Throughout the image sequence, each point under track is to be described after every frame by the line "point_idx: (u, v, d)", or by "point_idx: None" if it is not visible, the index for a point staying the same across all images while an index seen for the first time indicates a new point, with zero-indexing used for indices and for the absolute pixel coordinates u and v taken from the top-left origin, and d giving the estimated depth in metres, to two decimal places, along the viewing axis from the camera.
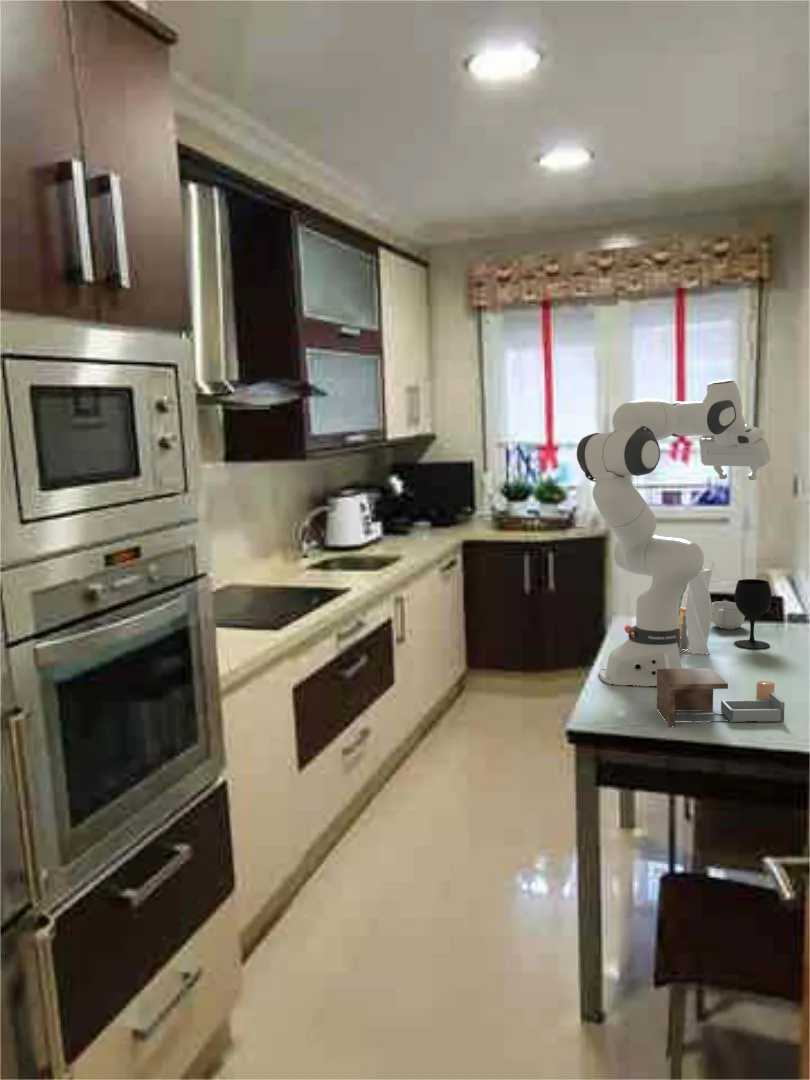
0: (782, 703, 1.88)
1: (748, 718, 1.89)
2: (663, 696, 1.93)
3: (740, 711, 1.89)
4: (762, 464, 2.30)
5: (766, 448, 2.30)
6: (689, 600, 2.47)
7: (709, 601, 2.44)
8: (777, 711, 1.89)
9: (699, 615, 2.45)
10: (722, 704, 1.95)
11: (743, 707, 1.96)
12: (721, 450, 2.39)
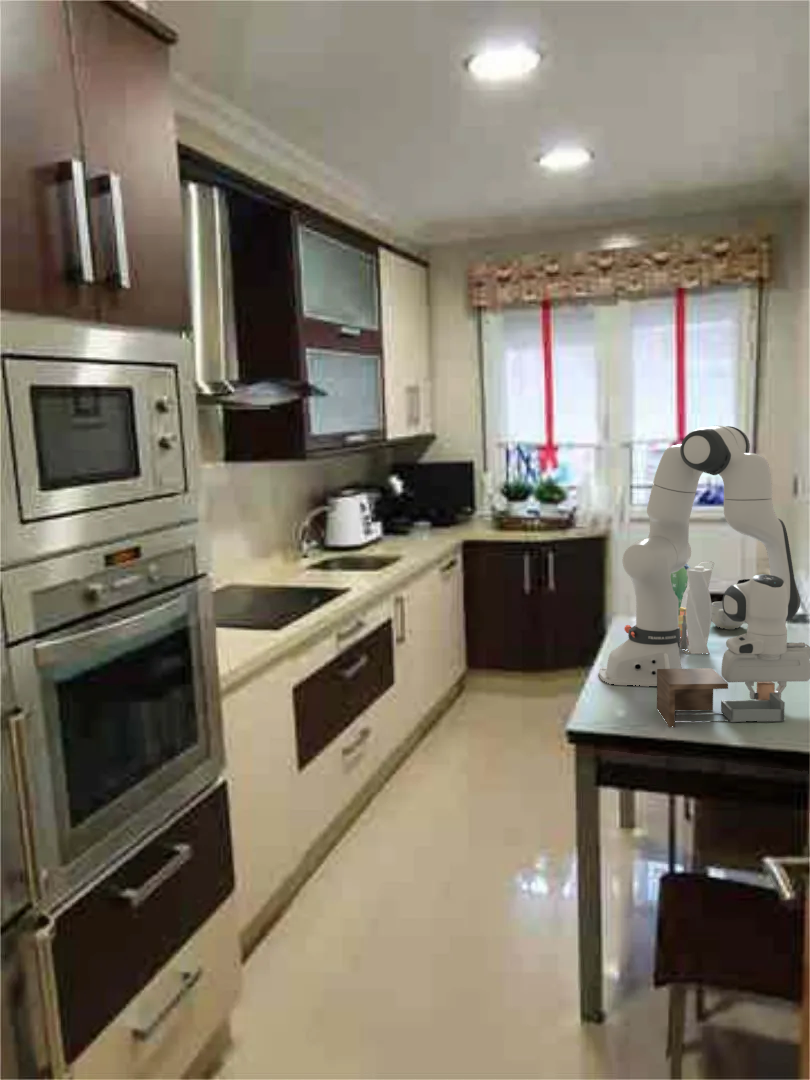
0: (782, 703, 1.88)
1: (748, 718, 1.89)
2: (663, 696, 1.93)
3: (740, 711, 1.89)
4: None
5: (726, 663, 1.98)
6: (689, 600, 2.47)
7: (709, 601, 2.44)
8: (777, 711, 1.89)
9: (699, 615, 2.45)
10: (722, 704, 1.95)
11: (743, 707, 1.96)
12: None
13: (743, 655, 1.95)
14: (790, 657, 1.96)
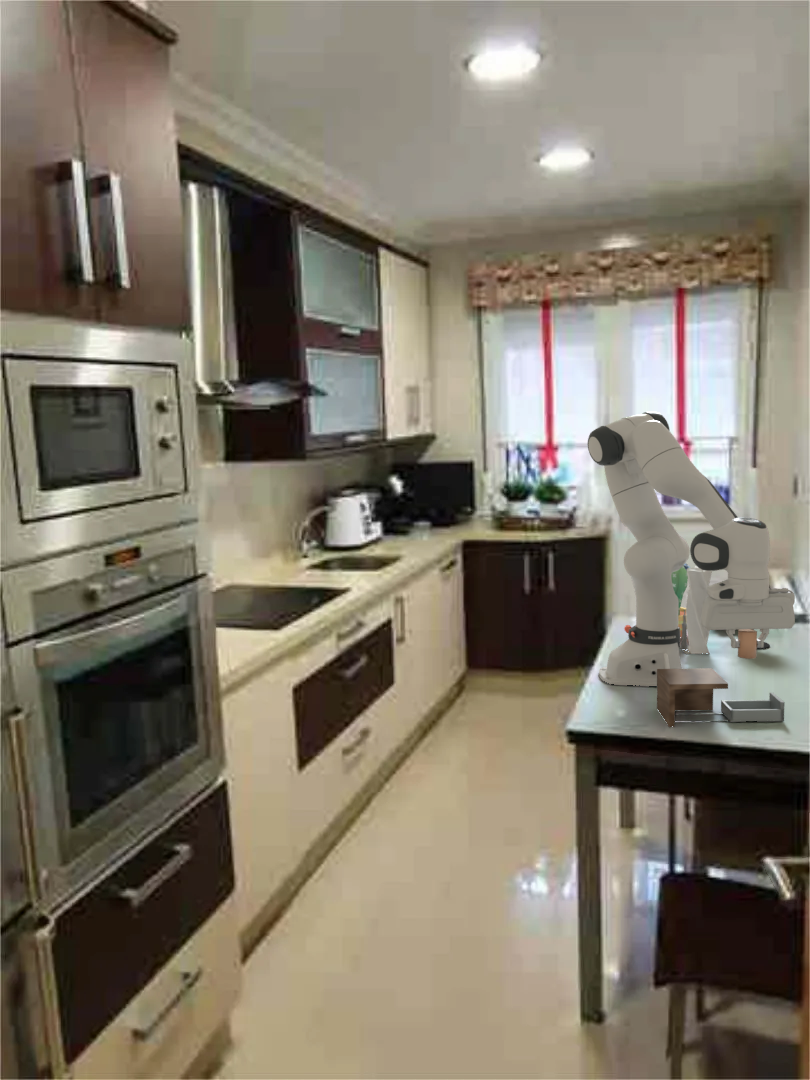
0: (782, 703, 1.88)
1: (748, 718, 1.89)
2: (663, 696, 1.93)
3: (740, 711, 1.89)
4: None
5: (706, 610, 1.89)
6: (689, 600, 2.47)
7: None
8: (777, 711, 1.89)
9: (699, 615, 2.45)
10: (722, 704, 1.95)
11: (743, 707, 1.96)
12: None
13: (723, 601, 1.87)
14: (772, 603, 1.87)
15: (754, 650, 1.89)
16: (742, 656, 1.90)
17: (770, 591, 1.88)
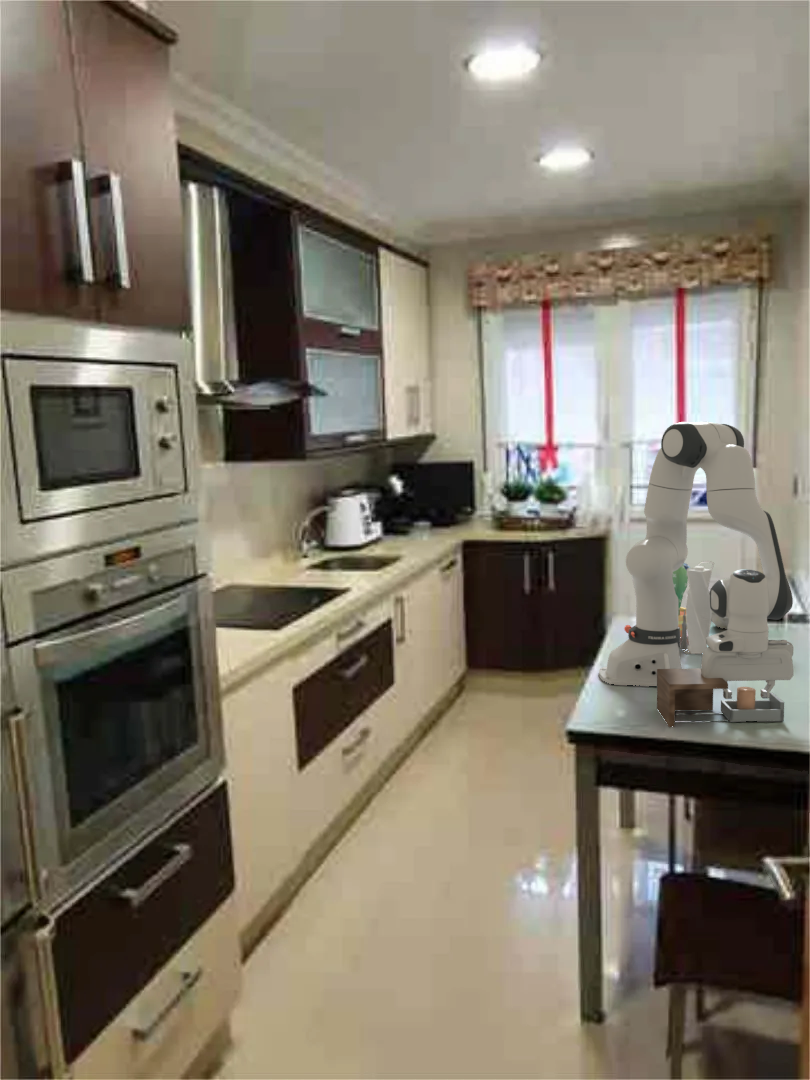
0: (782, 703, 1.88)
1: (748, 718, 1.89)
2: (663, 696, 1.93)
3: (740, 711, 1.89)
4: None
5: (705, 662, 1.91)
6: (689, 600, 2.47)
7: (709, 601, 2.44)
8: (777, 711, 1.89)
9: (699, 615, 2.45)
10: (722, 704, 1.95)
11: None
12: None
13: (723, 653, 1.89)
14: (771, 655, 1.89)
15: (752, 708, 1.91)
16: None
17: (769, 643, 1.90)
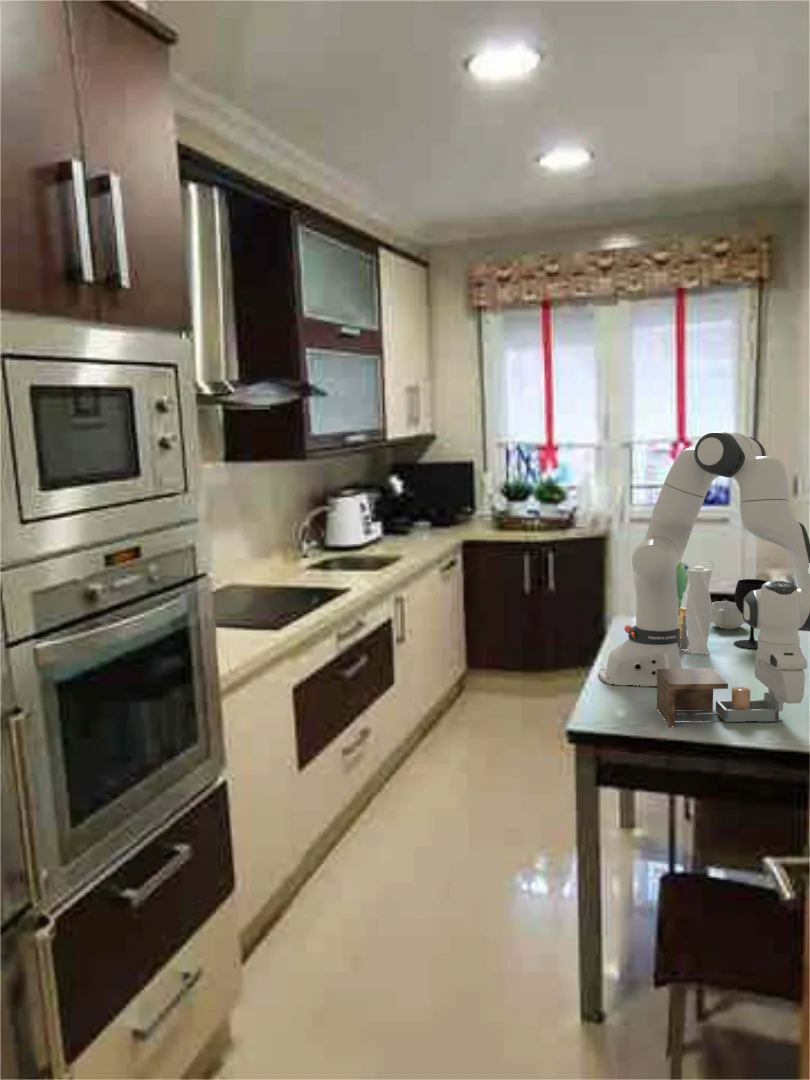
0: (777, 703, 1.89)
1: (743, 718, 1.90)
2: (663, 696, 1.93)
3: (735, 711, 1.89)
4: (785, 700, 1.82)
5: (799, 684, 1.81)
6: (689, 600, 2.47)
7: (709, 601, 2.44)
8: (772, 711, 1.89)
9: (699, 615, 2.45)
10: (717, 704, 1.96)
11: None
12: (766, 666, 1.94)
13: None
14: None
15: None
16: None
17: None
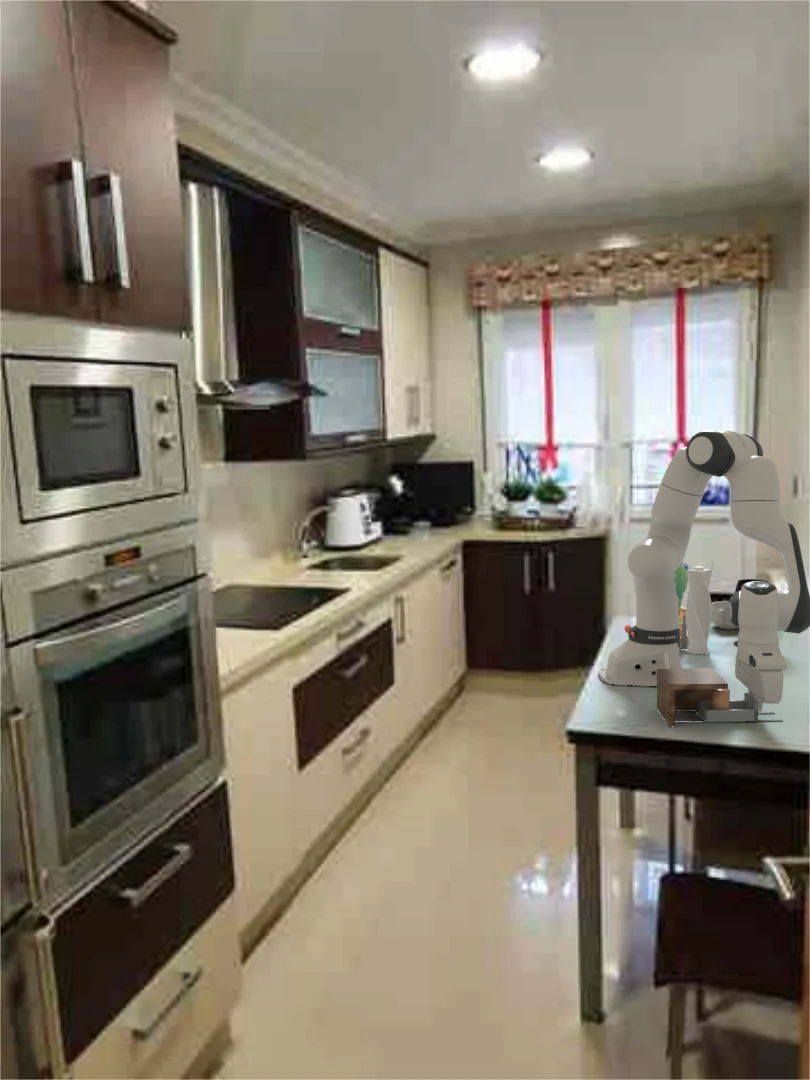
0: (756, 703, 1.89)
1: (722, 718, 1.90)
2: (663, 696, 1.93)
3: (714, 711, 1.90)
4: (764, 700, 1.83)
5: (778, 684, 1.82)
6: (689, 600, 2.47)
7: (709, 601, 2.44)
8: (751, 711, 1.89)
9: (699, 615, 2.45)
10: (697, 704, 1.96)
11: None
12: None
13: None
14: None
15: (727, 709, 1.91)
16: None
17: None
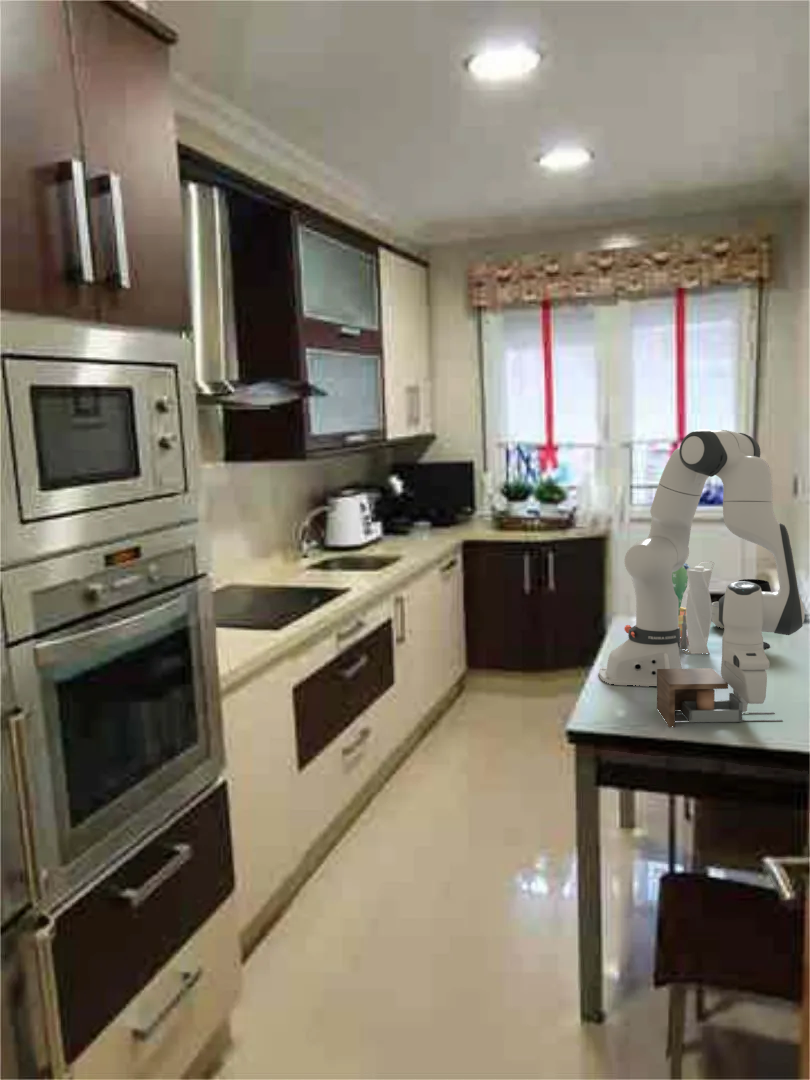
0: (740, 703, 1.89)
1: (707, 718, 1.90)
2: (663, 696, 1.93)
3: (699, 711, 1.90)
4: (748, 700, 1.83)
5: (761, 684, 1.82)
6: (689, 600, 2.47)
7: (709, 601, 2.44)
8: (735, 711, 1.89)
9: (699, 615, 2.45)
10: (682, 704, 1.96)
11: None
12: None
13: None
14: None
15: (712, 709, 1.92)
16: None
17: None
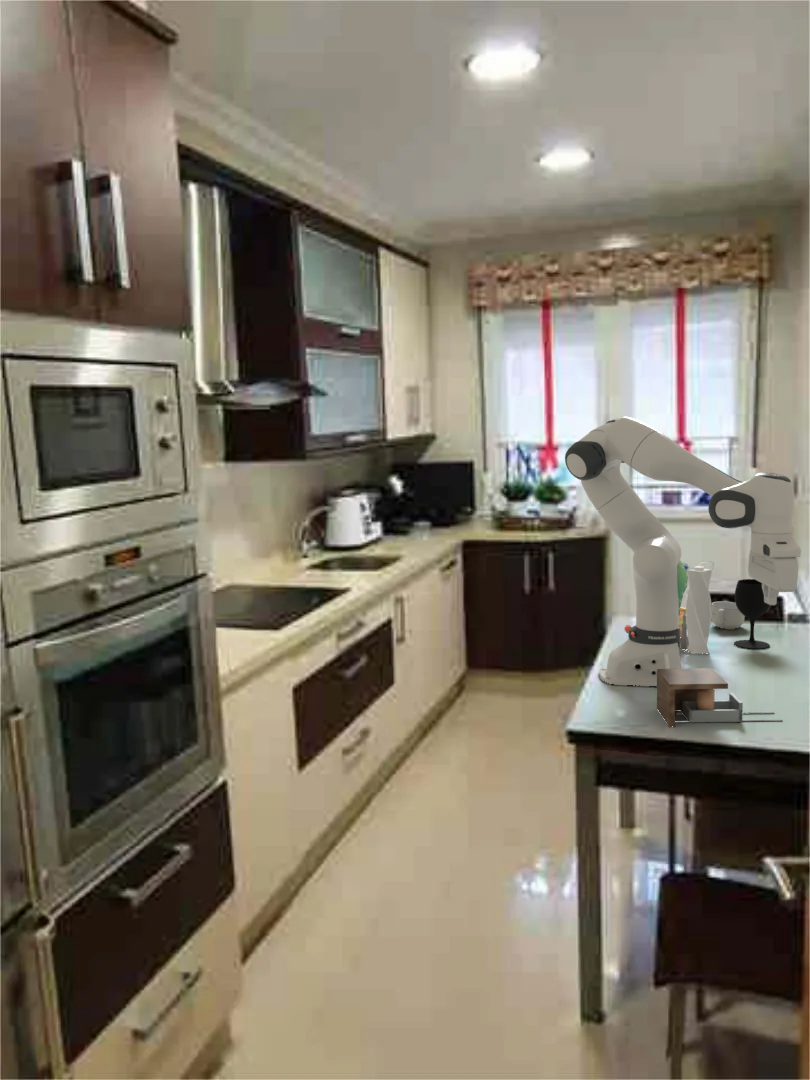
0: (740, 703, 1.89)
1: (707, 718, 1.90)
2: (663, 696, 1.93)
3: (699, 711, 1.90)
4: (778, 588, 1.79)
5: (792, 572, 1.78)
6: (689, 600, 2.47)
7: (709, 601, 2.44)
8: (735, 711, 1.89)
9: (699, 615, 2.45)
10: (682, 704, 1.96)
11: None
12: (760, 561, 1.90)
13: None
14: None
15: (712, 709, 1.92)
16: None
17: None
